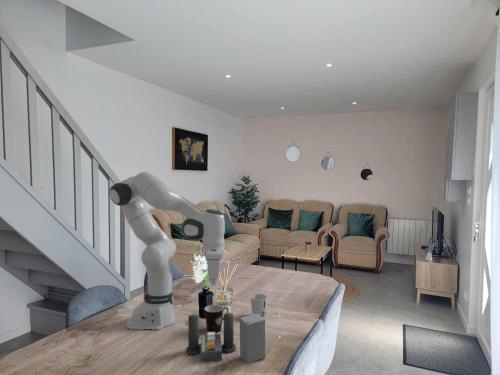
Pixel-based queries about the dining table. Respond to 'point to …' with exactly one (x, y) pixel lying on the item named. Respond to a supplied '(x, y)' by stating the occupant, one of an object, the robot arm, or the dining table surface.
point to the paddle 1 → (210, 334)
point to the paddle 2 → (210, 345)
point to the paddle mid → (211, 339)
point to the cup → (259, 304)
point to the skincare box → (252, 338)
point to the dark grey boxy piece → (212, 353)
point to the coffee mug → (214, 317)
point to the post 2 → (228, 334)
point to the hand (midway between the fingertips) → (213, 283)
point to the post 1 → (193, 335)
